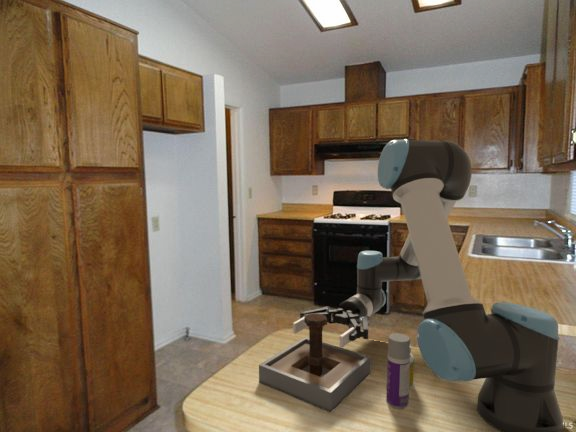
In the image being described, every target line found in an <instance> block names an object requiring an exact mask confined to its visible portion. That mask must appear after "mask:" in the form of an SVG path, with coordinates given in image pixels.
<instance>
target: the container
mask: <svg viewBox="0 0 576 432" xmlns="http://www.w3.org/2000/svg"><path fill="white" fill-rule="evenodd" d="M387 344H388V345H387V359H386V360H387V363H386V399H385V402H386V404H387V405H388V406H389V407H392V408H393V407H394V409H398V410H399V409H400V410H401V409H405V408H408V406H409V394H410V392H409V391H410V388H409V368H410V345H411V339H410V337H409V336H408V335H407V334H404V333H399V332H396V333H391V334H388V343H387Z"/></svg>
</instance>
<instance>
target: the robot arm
mask: <svg viewBox="0 0 576 432" xmlns="http://www.w3.org/2000/svg"><path fill="white" fill-rule="evenodd" d="M472 175H473V170H472V163H471V160H470V156H469V155H468V153H467V152H466V150H465V149H464V148H463V147H462V146H460V145H459V144H458V143H456V142H454V141H450V140H448V139H447V140H445V139H440V140H437V139H435V140H431V139H430V140H429V139H427V140H425V139H420V140H419V139H416V140H415V139H408V138H404V139H393V140H390V141H389V142H387V143H386V144H385V146H384V147H383V149H382V151H381V154H380V156H379V161H378V164H377V180H378V183H379V186H380V187H382V188H383V189H385V190H391V196H392V198H393V200H394V201H395V202H397V203H399V204H401V207H402V210H403V215H404V219H405V222H406V226H407V228H408V229H407V230H408V235H407V238H406V239H405V242H404V245H403V247H402V248H401V250H400V253H399V254H398V256H383V253H382V252H381V251H377V250H362V251H360V252H359V253H358V256H357V264H356V269H357V270H356V273H357V277H356V280H357V282H356V284H357V285H356V294H354V295H353V296H351V297H349V298H348V299H346V300H344V301H342V302H340V303H339V305H338V307H337V308H336V309H330V306H324V307H321V308H315V309H310V310H306V311H301V312H299V313H300V314H299V319H297V320H296V321H294V322H292V334H298V333H299V332H301V331H303V330H305V329H306V328H309V326H307V325H306V323H305V322H304V317H305V316H307V315H308V314H322V315H324V316H326V318H327V324H330V325H332V324H341V325H344V326H346V327H348V330H346V331H345V332H343V333H342V334H340V335H339V347H340V348H344V347H345V346H347V345H348V344H349V343H351V342H354V341H356V340H357V339H361V338H363V339H364V340H369V326H370V317H371V316H372V315H374V314H376V313H377V312H379V311H380V310H381V309H382V308H383V307H384V305H385V304H386V301H387V296H386V293H385V291H384V290H383V287H382V286H383V282H396V281H399V282H400V281H416V280H421V283H422V287H423V289H424V294H425V298H426V301H427V302H426V303H427V304H426V306H425V308H424V311H423V312H422V315H423V321H420V323H419V325H418V327H417V331H416V332H417V333H418V334H417V337H416V338H417V344H418V345H417V346H418V349H419V351H420V354H421V357H422V358H423V361H424V363H425V364H426V365H427V367H428V368H429V370H431V371H432V373H433V374H434V375H435V376H437V377H438V378H439V379H440V380H441V379H442V380H444V381H446V382H471V381H473V380H480V379H484V382H482V383H483V384H482V385H481V388H480V390H479V392H478V394H477V400H476V407H477V408H476V409H477V411H478V414H480V416H481V417H482V418H483V419H484V420H485V421H486V422H487V423H488V424H490V425H491V426H493V427H494V428H496V429H498V430H499V431H501V432H563V423H564V418H563V415H562V411H561V408H560V405H559V402H558V397H557V394H556V391H555V384H556V383H555V382H556V381H555V380H556V372H557V358H558V350H559V349H558V347H559V341H560V337H559V323H558V321H557V320H556V319H555V317H553V315H550V314H549V313H547V312H544V311H542V310H540V309H536V308H533V307H531V306H527V305H522V304H516V303H511V302H500V301H499V302H494V303H493V304H492V305H491V308H490V311H491V313H490V314H486V311H485V308H484V304H483V302H482V301H480V300H478V299H476V298H475V297H473V296H472V294H471V290H470V287H469V284H468V281H467V278H466V275H465V272H464V271H465V270H464V269H463V268H464V267H463V265H462V261H461V258H460V256H459V251H458V249H457V246H456V243H455V239H454V236H453V233H452V230H451V226H450V224H449V221H448V217H449V216H450V214H451V213H452V211H453V208H454V206H455V205H456V203H457V202H458V201H461V200H463V199H464V197H465V195H466V193H467V191H468V190H469V187H470V184H471V180H472ZM360 324H361V325H360ZM361 328H362V329H361Z"/></svg>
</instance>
